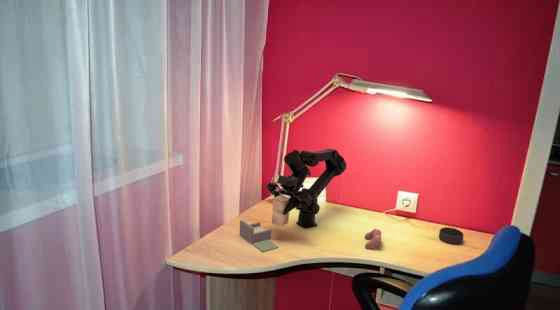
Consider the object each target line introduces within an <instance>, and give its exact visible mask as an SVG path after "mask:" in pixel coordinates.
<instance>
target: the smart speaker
mask: <svg viewBox="0 0 560 310" xmlns="http://www.w3.org/2000/svg"><path fill="white" fill-rule="evenodd" d="M438 233H439V234H438V238H439V239H440V240H441V242H444V243H447V244H450V245H460V244H462V243H463V241H464V232H462V231H461V230H460V229H457V228H454V227H449V226H448V227H447V226H445V227H441V228H440V229H439V232H438Z"/></svg>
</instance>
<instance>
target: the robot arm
mask: <svg viewBox="0 0 560 310" xmlns="http://www.w3.org/2000/svg"><path fill="white" fill-rule="evenodd" d="M283 158H284V159H283V162H284V164H285V165H286V166H287V167H288V169H289V171H291V174H290V175H287V176H285V175H280V174H279V175H278V179H277V182H276V183H275V182H268V183H267V184H266V186H265V188H266V189H267V190H268V192H269V193H270V194H271V195H272V196H273V198H275V197H277V196H280V195H281V196H286V197H289V198H290V200H289V202H288V204H287V206H286V208H285V210H284V212H283V215H286V214H287V213H288V212H289V213H290V212H292V211H293V210H294V209H295V210H298V211H299V213H298V216H297V221H296V224H297V225H299V227H302V228H304V229H309V228H314V227H317V226H318V224H317V223H316V222H315V221H316V215H318V214H319V211H320V210H321V209H320V208H321V206H320V205H319V204H318V198H319V196H320V195H321V194H322V192H323V191H324V190H325V189H326V188H327V186H328V185H329V184H330V183H331V181H332V180H333V179H334V178H335V177H338V176H340V175H342V174H343V173H344V172H345V171H346V169H347V163H346V160H345V158H344V157H343V156H342V155H340V153H339V151H338V150H336V149H333V148H325V149H321V150H317V151H309V150H303V149H302V150H301V151H299V150H296V149H293V151H291V152H288V153H287V154H285V155H284V157H283ZM321 162H324V163H325V169H324V170H323V172H322V173H321V174H319V176H318V178H317V179H316V180H315V181H314V182H313V183H312V184H311V186H310V187H309V188H305V187H304V186H305V185H304V182H305V181H306V179H307V177H308V176H310V177H311V174H312V173H311V169H310V168H315V167H316V166H318V165H319V164H320V163H321ZM308 167H310V168H308ZM279 184H280V185H279Z"/></svg>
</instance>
